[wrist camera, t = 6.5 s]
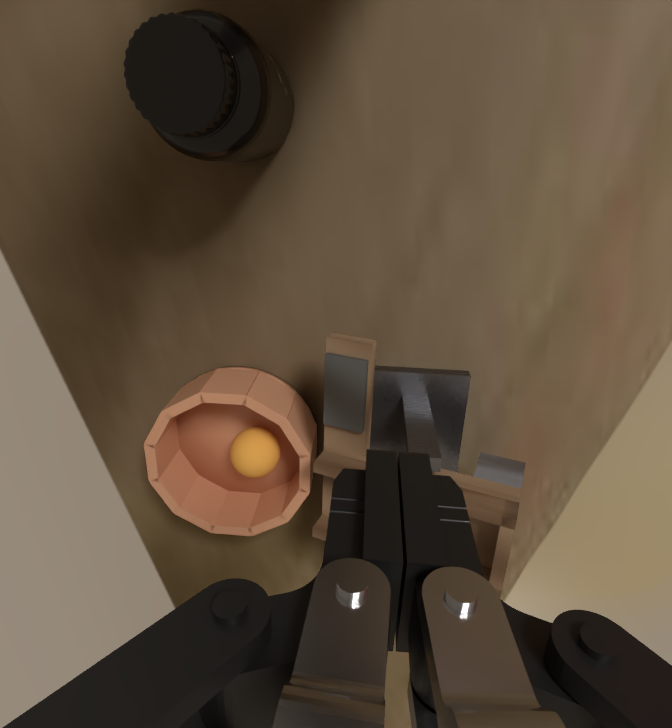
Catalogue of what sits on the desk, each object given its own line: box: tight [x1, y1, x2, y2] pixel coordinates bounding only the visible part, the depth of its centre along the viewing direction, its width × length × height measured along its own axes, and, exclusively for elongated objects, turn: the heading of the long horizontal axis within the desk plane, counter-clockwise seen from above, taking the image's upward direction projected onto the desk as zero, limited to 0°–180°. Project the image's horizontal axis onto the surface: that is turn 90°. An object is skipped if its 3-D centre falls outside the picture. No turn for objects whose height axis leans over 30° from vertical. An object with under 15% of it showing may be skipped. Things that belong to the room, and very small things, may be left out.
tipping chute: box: [312, 333, 525, 597], centre depth 33 cm, size 15×13×7 cm
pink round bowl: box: [144, 366, 317, 536], centre depth 40 cm, size 13×13×5 cm
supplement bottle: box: [124, 9, 294, 162], centre depth 27 cm, size 7×7×12 cm
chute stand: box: [369, 366, 471, 472], centre depth 37 cm, size 14×8×10 cm, turn 178°
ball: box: [230, 427, 280, 478], centre depth 40 cm, size 4×4×4 cm
